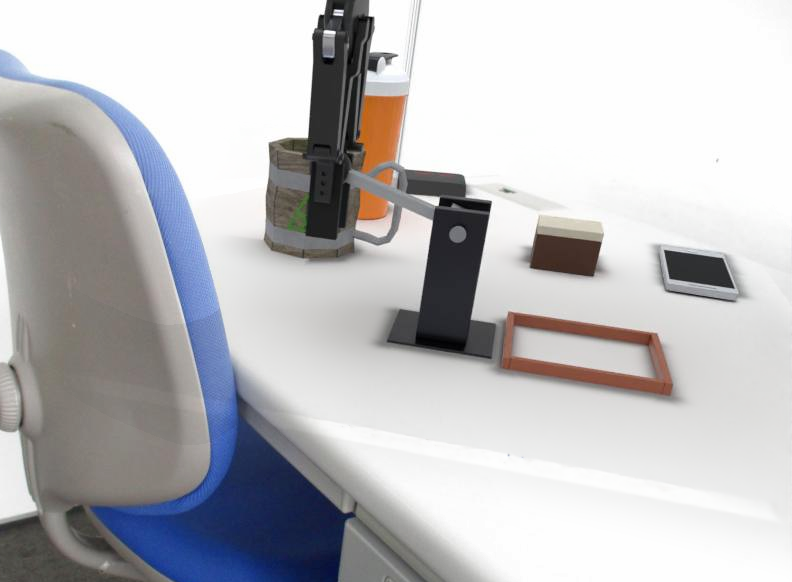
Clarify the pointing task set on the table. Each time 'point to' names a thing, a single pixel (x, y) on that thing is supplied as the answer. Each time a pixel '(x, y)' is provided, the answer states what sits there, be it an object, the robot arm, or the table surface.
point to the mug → (291, 204)
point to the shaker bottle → (381, 124)
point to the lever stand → (450, 284)
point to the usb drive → (432, 183)
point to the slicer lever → (388, 192)
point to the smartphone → (697, 273)
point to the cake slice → (566, 245)
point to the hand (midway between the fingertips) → (326, 230)
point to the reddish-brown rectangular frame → (580, 373)
